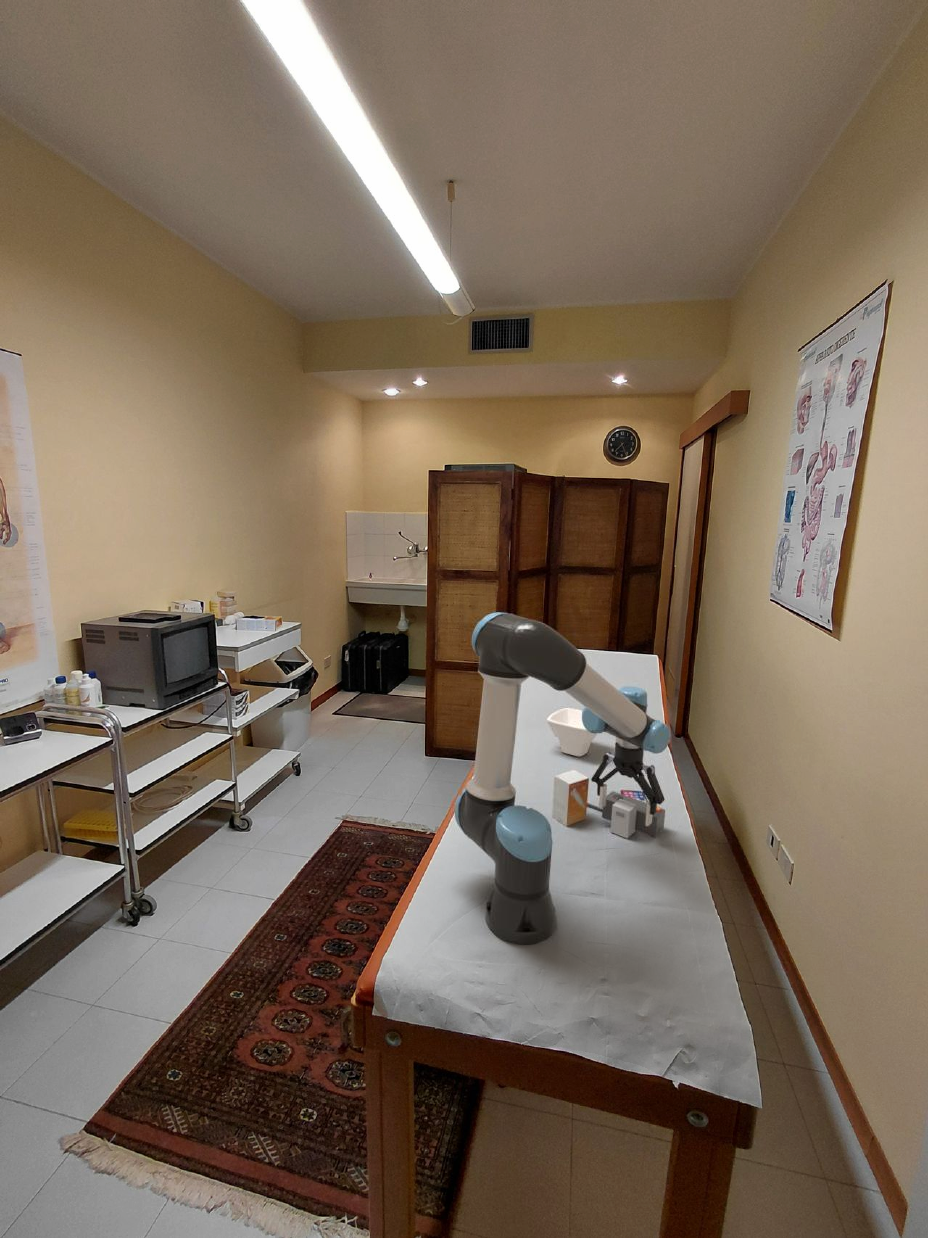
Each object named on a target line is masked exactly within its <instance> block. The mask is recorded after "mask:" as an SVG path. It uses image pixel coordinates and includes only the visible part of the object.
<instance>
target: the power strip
mask: <svg viewBox="0 0 928 1238" xmlns="http://www.w3.org/2000/svg"><path fill="white" fill-rule="evenodd" d="M619 799H623V800H625V801H628V802H631V803H634V804H637V812H636V824H635V831H636V832H639V833H641V834H644V835H646V836H649V837H651V838H654V839H656V838H657V837H658V836H659V835H660V833H662V832H663V831H664V829H665V818H666V817H665V816H666V809H665V808H663V807H661V806H658V805H657V809H656V813H655V814H654V815H653V816H652V823H651V824H650V825H649V826H646V825H645V824H646V810H647V803H645V802H642V801H639V800H636V799H633V798H630V797H628V796H625V795H622V794H621V793H619V792H616V791H614V790H613V791H611V792H609V793H608V794H606V806H604V807H603V808H602V809H600V808H599V806H597V805H594V804H592V803H589V802H587V808H590V809H592V810H595V811H597V812H600V813H601V814H602V815H601V817H602V818H603V819H606V820H607V821H610V822H611V817H612V805H613V804H614V803H616V802H617V801H618V800H619Z"/></svg>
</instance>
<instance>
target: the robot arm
mask: <svg viewBox="0 0 928 1238" xmlns="http://www.w3.org/2000/svg"><path fill="white" fill-rule="evenodd" d="M471 647H472V649H473V651H474V653H475V654H476V656H477V657H478V668H477V672H478V674H479V675H480V676H481V677H482V678H483V684H482V691H481V692H482V693H481V704H480V710H479V711H480V714H479V721H478V722H479V723H478V731H477V740H476V748H475V749H476V750H475V751H476V752H475V758H474V759H475V760H474V768H473V769H474V770H473V778H471V779H470V780H469V781H467V783H466V785H465V788H463V789H462V791H461V794H460V795H458V796H457V798H456V801H455V804H454V819H455V822H456V823H457V826H458V827H459V828H460V830H461V831H462V832H463V834H464V835H465V836H467V838H468V839H470V840H471V841H472V842H473V843H475V844H476V845H477V846H478V847H479V848H480V849H481V850H482V851H483V852H484V853H485V854H486V855H487V856H488V857H489V858H490V859H491V860H492V861H493V862H494V867H495V868H494V884H493V886H492V888H491V891H490V892H489V896H488V898H487V900H486V905H485V922H486V925H487V927H488V928H489V929H490V931H491V932H492V933H493V934H494V935H495V936H497V937H499V938H501V939H502V940H504V941H506V942H508V943H513V944H518V945H531V944H532V945H533V944H538V943H540V942H543V941H544V940H546V939H547V938H549V937H550V936H551V935H552V934H553V932H554V931H555V929H556V919H557V913H556V908H555V905H554V902H553V897H552V894H551V891H550V879H551V866H552V864H551V863H552V851H553V838H552V837H553V836H552V832H553V831H552V827H551V823H550V822H549V820H548V818H547V817H546V816H545V815H544V814H543V813H541V812H540V811H538V810H537V809H536V808H535V809H534V808H532V807H529V808H527V806H524V805H515V803H516V793H517V790H516V787H515V786H514V785H513V784H512V783H511V780H512V771H513V761H514V752H515V744H516V734H517V726H518V720H519V719H518V717H519V708H520V700H521V689H522V684H523V683H525V681H526V680H527V679H529V678H533V679H535V680H538V681H541V682H542V683H545V684H547V686H549V687H551V688H552V689H554V690H556V691H557V692H558V691H559V692H566V694H568V695H569V696H571V697H572V698H574V700H576V701H577V702H579V703H580V704H581V705H582V706H583V709H582V722H583V725H584V727H585V728H586V730H587V731H589V732H590V733H593V734H595V733H598V734H603V733H606V734H609V735H611V736H613V737H615V743H614V744H615V745H614V755H613V754H612V753H611V752H607V753H606V754H604V755H603V756H602V762H601V763H600V765H599V766H598V768H597V769H596V771H595V772H594V774H593V775H592V777H591V779H590V780H591V782H593V783H595V784H596V785H597V789H596V795H597V796H598V797H599V800H598V801H599V805H598V807H599V808H600V809H603V807H604V806H606V796H607V792H608V791H607V790H608V784H607V783H606V782H607V781H609V779H611V778H612V777H614V775H616V774H617V773H619V774H620V775H621V776H623V777H628V778H630V779H634V781H635V782H637V784H638V785H639V787H640V789H641V790H642V791H643V792H644V794H645V796H646V798H647V801H648V803H647V810H646V824H645V825H646V826H649V825H650V824H651V823H652V816H653V815H654V814H655V813H656V809H657V806H658V805H661V804H663V802H664V801H666V800H665V796H664V793H663V791H662V789H661V785H660V784H659V780H658V778H657V775H656V770H655V769H656V767H655V766H654V765H653V764H651V765H647V764H646V765H645V764H644V755H645V754H644V753H645V752H649V753H652V754H655V755H656V754H660V753H663V752H664V751H665V750H666V749H667V748H668V745H669V744H670V742H671V737H672V734H671V733H672V732H671V729H670V726H669V725H667V724H666V723H664V722H661V721H660V720H659V719H655V718H652V717H651V716H649V715H648V714H647V709H648V693H647V691H646V690H645V689H644V688H641V687H637V686H631V685H630V686H622V687H620V689H618V688H616V687H615V686H614V685H613V684H611V683H610V682H609V681H608V680H607V679H606V678H604V677H603V676H602V675H601V674H600V673H598V671H596V670H595V669H594V668H593V667H592V666H590V665H589V664H588V662H587V658H586V656H585V654H584V653H582V651H580V650H579V649H578V648H577V647H576V646H575V645H574V644H572V643H571V642H570V641H568V639H566V638H565V637H564V636H563V635H561V634H560V633H559V632H558V631H556V630H555V629H554V628H552V627H551V626H549V625H547V624H546V623H543V621H539V620H535V619H531V618H530V619H529V618H527V617H523V616H519V615H517V614H513V613H508V612H499V611H498V612H493V613H489V614H487V615H486V616H484V617H483V618H482V619H481V620H480V621H478V623H477V624H476V626H475V627H474V629H473V632H472V635H471ZM611 762H613V764H614V766H615V767H614V768H613V769H612V770H610V771H609V772H608V773H607V774H606V775H604V776H603V777H602V778H600V777H601V776H602V774H603V772H604V771H605V770H606V768H607V767H608V765H609V764H610V763H611ZM643 771H644V773H645V774H644V773H643ZM645 775H646V778H647V779H646V778H645ZM647 780H648V781H647Z"/></svg>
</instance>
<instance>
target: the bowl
mask: <svg viewBox="0 0 928 1238" xmlns="http://www.w3.org/2000/svg"><path fill="white" fill-rule="evenodd" d="M582 711H583V709H582V710H581V709H576V708H572V707H570V708H569V707H565V708H561V709H558V710H556V711H554V712H553V713H551V714H550V715H548V717H547V718H546V722H547V724H548V725H549V727H550V729H551V731H552V733H553V735H554V737H556V738H558V742H559V746H560V750H561V752H562V753H565V754H567V755H572V756H574V757H582V756H584V755H585V754H587V753H588V752H589V749H590V746H591V743H592V741H593V740H594V739H595V738H596V737H597V735H598V734H599V733H595V734H593V733H590V732H589V731H587V730H586V728H585V727H584V725H583V722H582Z"/></svg>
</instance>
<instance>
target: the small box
mask: <svg viewBox="0 0 928 1238" xmlns="http://www.w3.org/2000/svg"><path fill="white" fill-rule="evenodd" d="M553 780H554V781H553V792H552V809H551V810H552V814H551V817H552V818H553V819H554V820H557V822H558V823H561V824H563V825H564V826H566V827H568V826H571V825H572V824H573V825H574V824H577V822H581V821H583V820H586V819H587V809H588V807H587V803H588V797H589V781H590V778H589V777H588V776H586V775H584V774H582V773H581V772H579V771H577V770H575V769H572V770H569V771H567V772H562V773H560V774H557V775H554V779H553Z"/></svg>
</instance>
